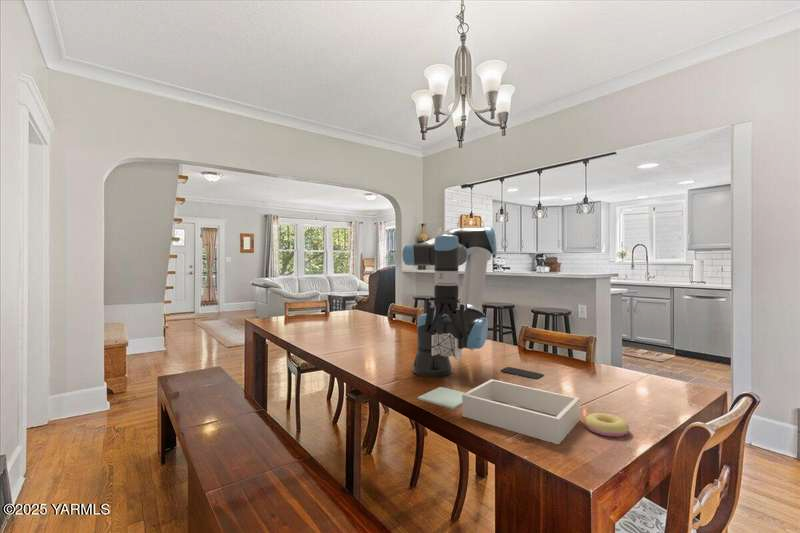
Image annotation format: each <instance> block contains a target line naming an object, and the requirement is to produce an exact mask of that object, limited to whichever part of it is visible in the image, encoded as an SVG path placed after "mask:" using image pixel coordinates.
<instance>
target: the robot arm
mask: <svg viewBox="0 0 800 533" xmlns="http://www.w3.org/2000/svg"><path fill="white" fill-rule="evenodd" d="M401 253H402V261H403V263H404V265H406V266H412V267H413V266H414V267H415V266H434V284H435V285H434V288H433V289H434V290H433V291H434V301H433V300H432V301H427V302H426V309H427V310H426V313H421V314H420V315H419V316H418V317H417V325H416V328H417V329H416V330H417V332H416V334H417V338H416V339H417V345H416V346H417V352H416V355H415V358H414V361H413V364H412V372H413V373H414V374H415V373H416V375H417V374H418V376H421V375H422V377H426V376H428V377H427V378H429V377H430V378H439V377H440V378H441V377H446V376H449V375H450V374H452V373H453V372H452V370H453V369H452V367H453V366H452V363H451V360H450V356H447V357H442V359H441V356H440V354H439V353H438V352H437V351H436V350H435V348H434V347H433V348H431V347H432V346H434V344H435V341H436V338H437V336H438V334H437V332H438V333H439V334H447V333H450V332H451V331H452V333H451V334H452V335H453V336H454V337H455V358H454V360H455V361H458V360H460V359H462V355H463V354H462V350H463V349H468V350H472V349H473V350H474V349H475V350H477V349H478V350H479V349H481V348H483V347H484V345H485V344H486V341H487V338H488V332H489V330H488V329H489V321H488V318H487V317H485V313H484V312H483V311H482V306H483V299H484V292H485V282H486V275H487V268H488V262H489V261H491V259H492V257H493V255H495V254H497V239H496V234H495V230H494V228H493V227H491V226H480V227H479V226H477V227H475V226H471V227H455V228H451V229H448V230H445V231H443V232H440V233H439V234H437V235H436V237H434V238H431V239H428V240H426V241H423V242H420V243H412V244H405V245H404V246H403V249H402V252H401ZM464 264H465V268H464V274H463V281H462V286H461V293H460V301H459V285H458V284H459V281H460V280H459V266H462V265H464ZM435 308H436V309H435Z"/></svg>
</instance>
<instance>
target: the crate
mask: <svg viewBox="0 0 800 533" xmlns="http://www.w3.org/2000/svg"><path fill="white" fill-rule="evenodd" d="M580 405H581V398H580V397H578V396H577V397H576V396H572V395H566V394H561V393H556V392H553V391H547V390H545V389H539V388H534V387H530V386H524V385H520V384H514V383H511V382H506V381H501V380H497V379H493V378H491V379H489V380H488V381H486V382H484V383H482V384H480V385H478V386H476V387H474V388H472V389H470V390H469V391H467V392H464V394H463V395H462V406H461V414H462V415H461V416H462V417H464V418H467V419H471V420H473V421H474V420H475V421H477V422H481V423H485V424H488V425H490V426H495V427H498V428H502V429H503V430H504V429H505V430H508V431H511V432H515V433H518V434H522V435H524V436H529V437H532V438H536V439H537V440H538V439H539V440H542V441H545V442H547V443H551V442H552V444H555V445H558V444H559V445H560V444H561V443H562V442H563V441H564V440H565V438H566V437H567V436H568V435H569V434H570V432H571V431H572V430H573V429H574V428H575V426H576V425H577V424H578V423H579V421H580V418H581V408H580V407H581V406H580ZM567 434H568V435H567ZM561 441H562V442H561Z"/></svg>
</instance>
